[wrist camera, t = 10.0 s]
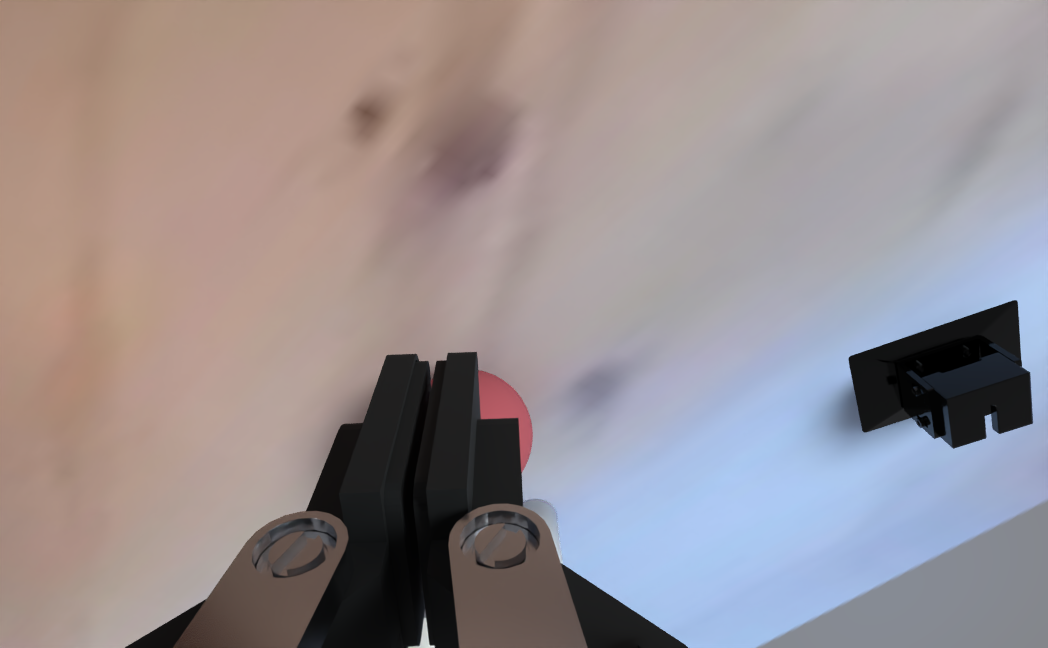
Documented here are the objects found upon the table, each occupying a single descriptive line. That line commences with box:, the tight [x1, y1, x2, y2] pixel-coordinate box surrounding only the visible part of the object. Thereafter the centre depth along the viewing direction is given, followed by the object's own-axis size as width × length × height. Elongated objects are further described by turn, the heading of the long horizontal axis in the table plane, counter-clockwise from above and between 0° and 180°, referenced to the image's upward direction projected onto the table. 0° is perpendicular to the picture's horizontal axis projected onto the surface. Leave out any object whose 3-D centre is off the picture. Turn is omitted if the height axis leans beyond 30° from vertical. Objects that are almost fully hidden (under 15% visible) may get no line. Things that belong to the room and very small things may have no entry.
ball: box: [431, 370, 533, 473], centre depth 29 cm, size 6×6×6 cm
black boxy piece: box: [849, 300, 1033, 449], centre depth 31 cm, size 12×7×5 cm, turn 111°
